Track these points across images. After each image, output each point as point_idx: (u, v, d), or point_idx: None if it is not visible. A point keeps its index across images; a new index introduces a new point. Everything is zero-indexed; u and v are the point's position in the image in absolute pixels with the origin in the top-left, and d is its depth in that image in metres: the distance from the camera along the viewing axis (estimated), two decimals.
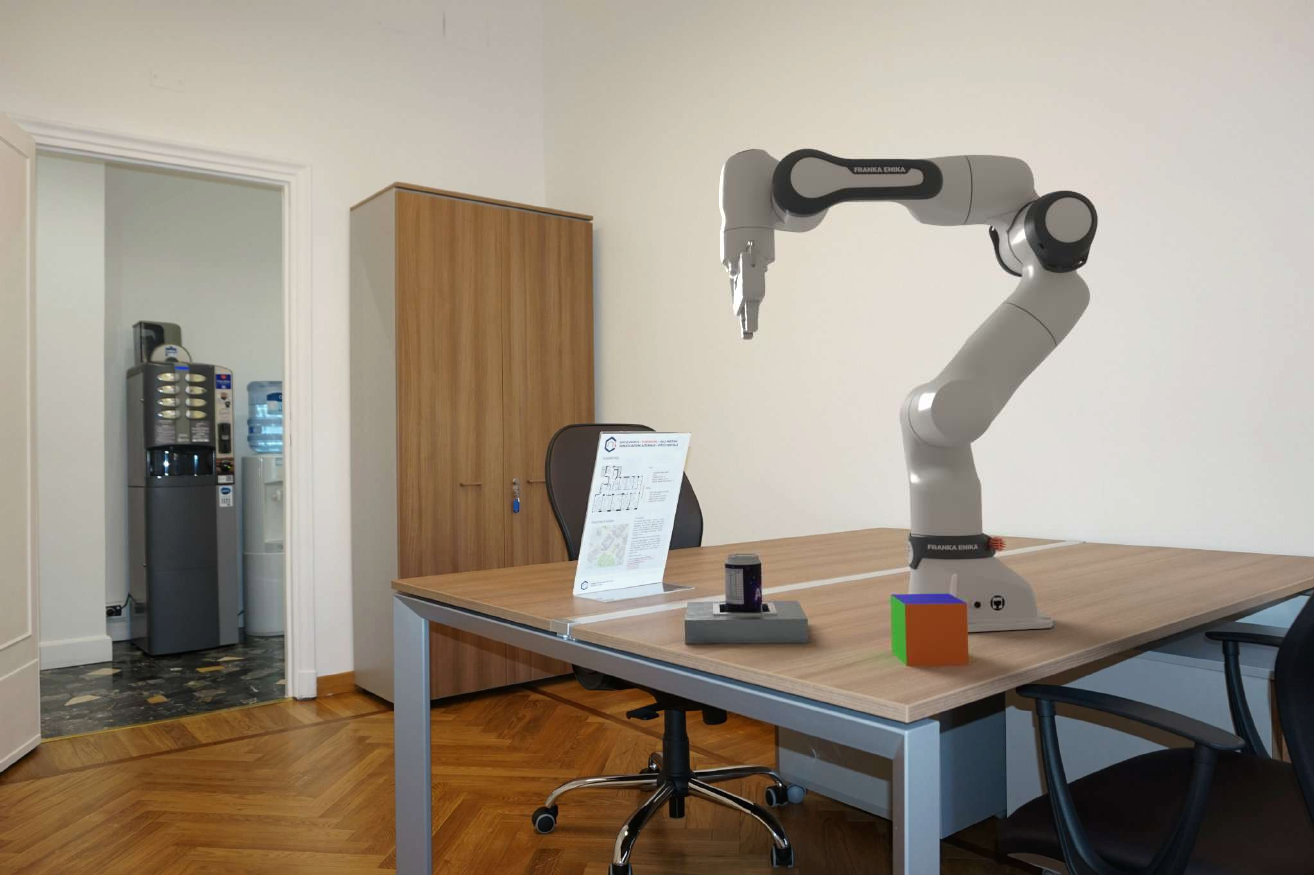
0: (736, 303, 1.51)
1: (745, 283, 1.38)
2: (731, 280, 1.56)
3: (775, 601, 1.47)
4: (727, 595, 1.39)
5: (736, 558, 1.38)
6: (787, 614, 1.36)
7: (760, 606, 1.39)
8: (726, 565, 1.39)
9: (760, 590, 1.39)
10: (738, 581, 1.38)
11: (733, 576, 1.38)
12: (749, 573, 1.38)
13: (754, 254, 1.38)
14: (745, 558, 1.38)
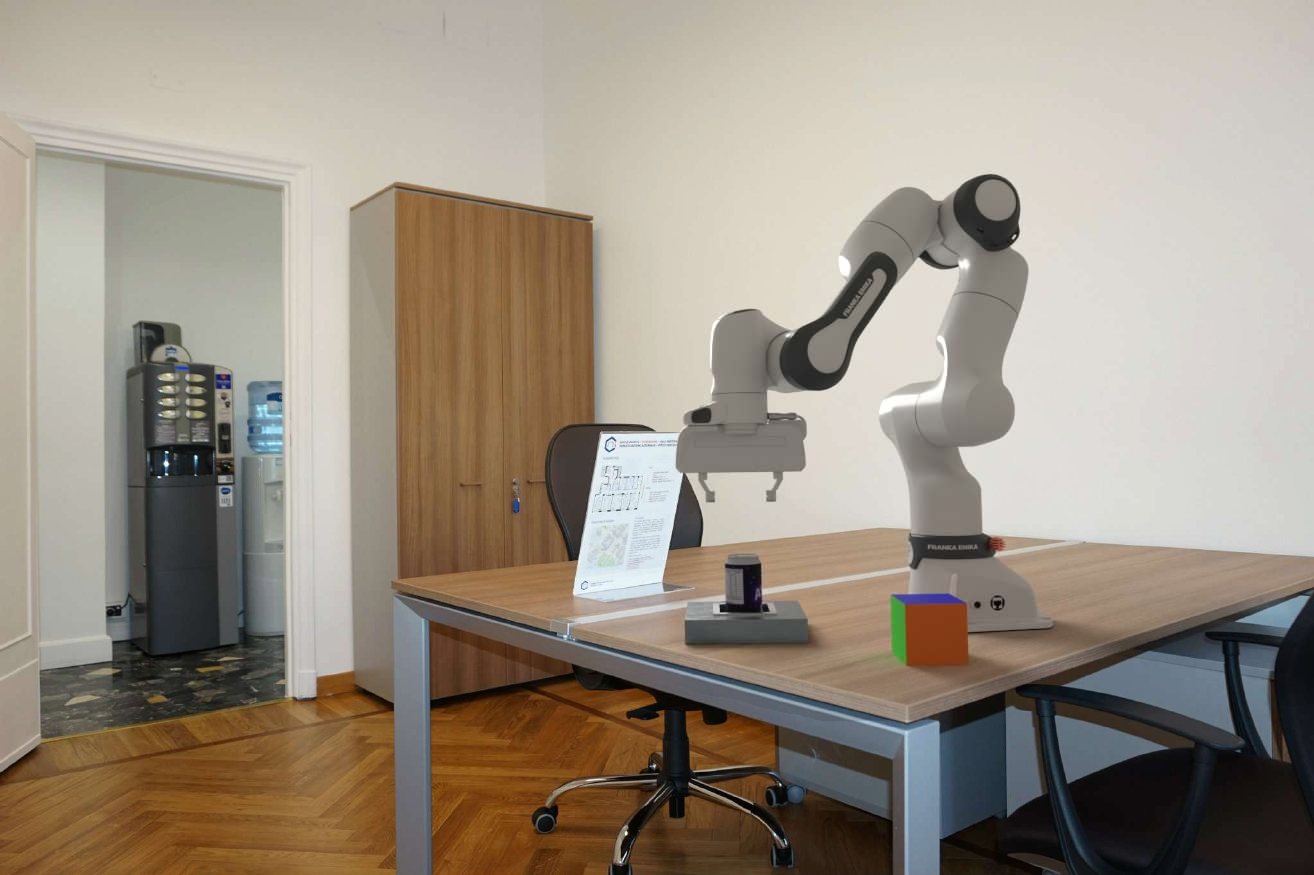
0: (717, 464, 1.39)
1: (805, 458, 1.39)
2: (690, 434, 1.39)
3: (775, 601, 1.47)
4: (727, 595, 1.39)
5: (736, 558, 1.38)
6: (787, 614, 1.36)
7: (760, 606, 1.39)
8: (726, 565, 1.39)
9: (760, 590, 1.39)
10: (738, 581, 1.38)
11: (733, 576, 1.38)
12: (749, 573, 1.38)
13: None
14: (745, 558, 1.38)
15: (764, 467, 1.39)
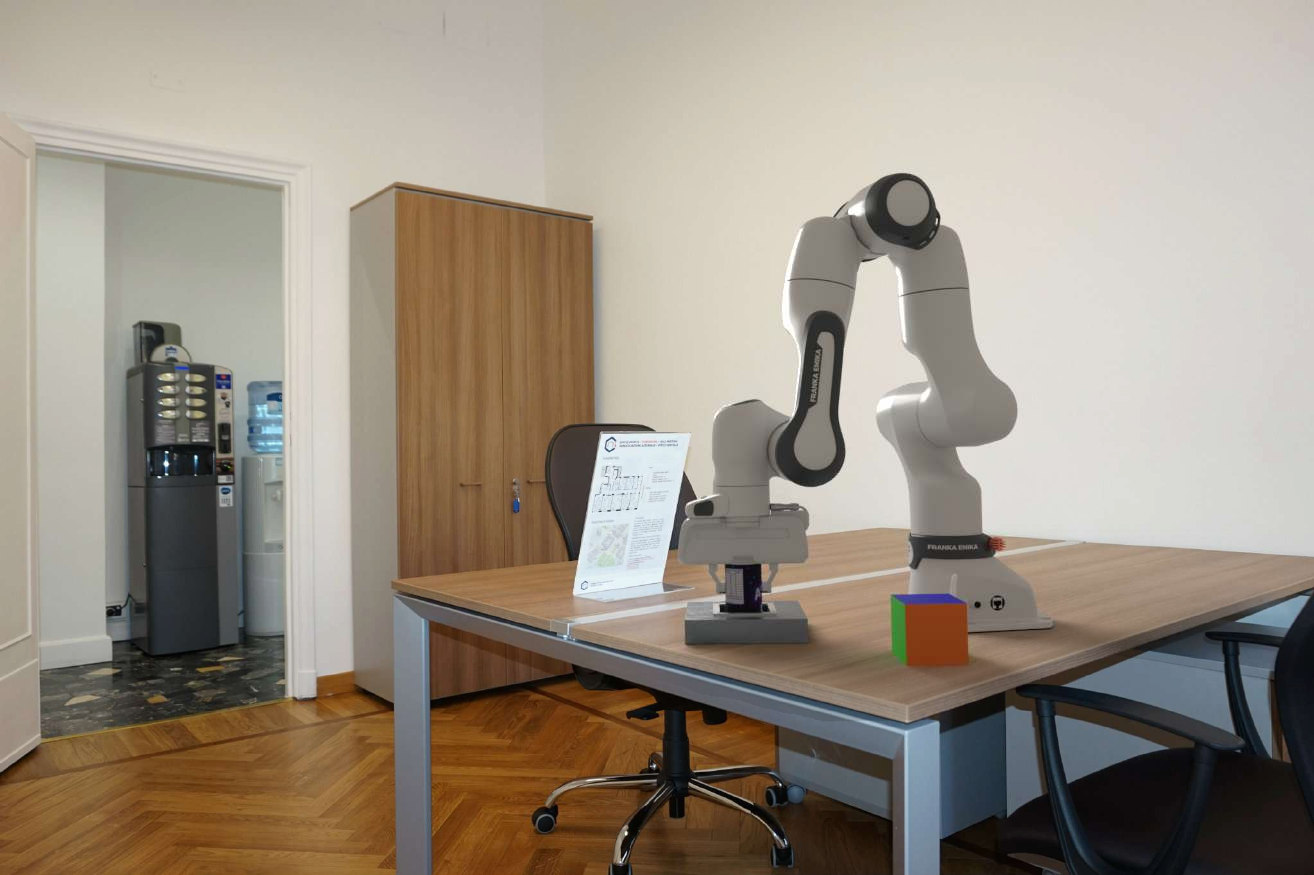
0: (719, 556, 1.39)
1: None
2: (692, 527, 1.39)
3: (775, 601, 1.47)
4: (727, 595, 1.39)
5: (736, 558, 1.38)
6: (787, 614, 1.36)
7: (760, 606, 1.39)
8: (726, 565, 1.39)
9: (760, 590, 1.39)
10: (738, 581, 1.38)
11: (733, 576, 1.38)
12: (749, 573, 1.38)
13: None
14: (745, 558, 1.38)
15: (767, 559, 1.38)
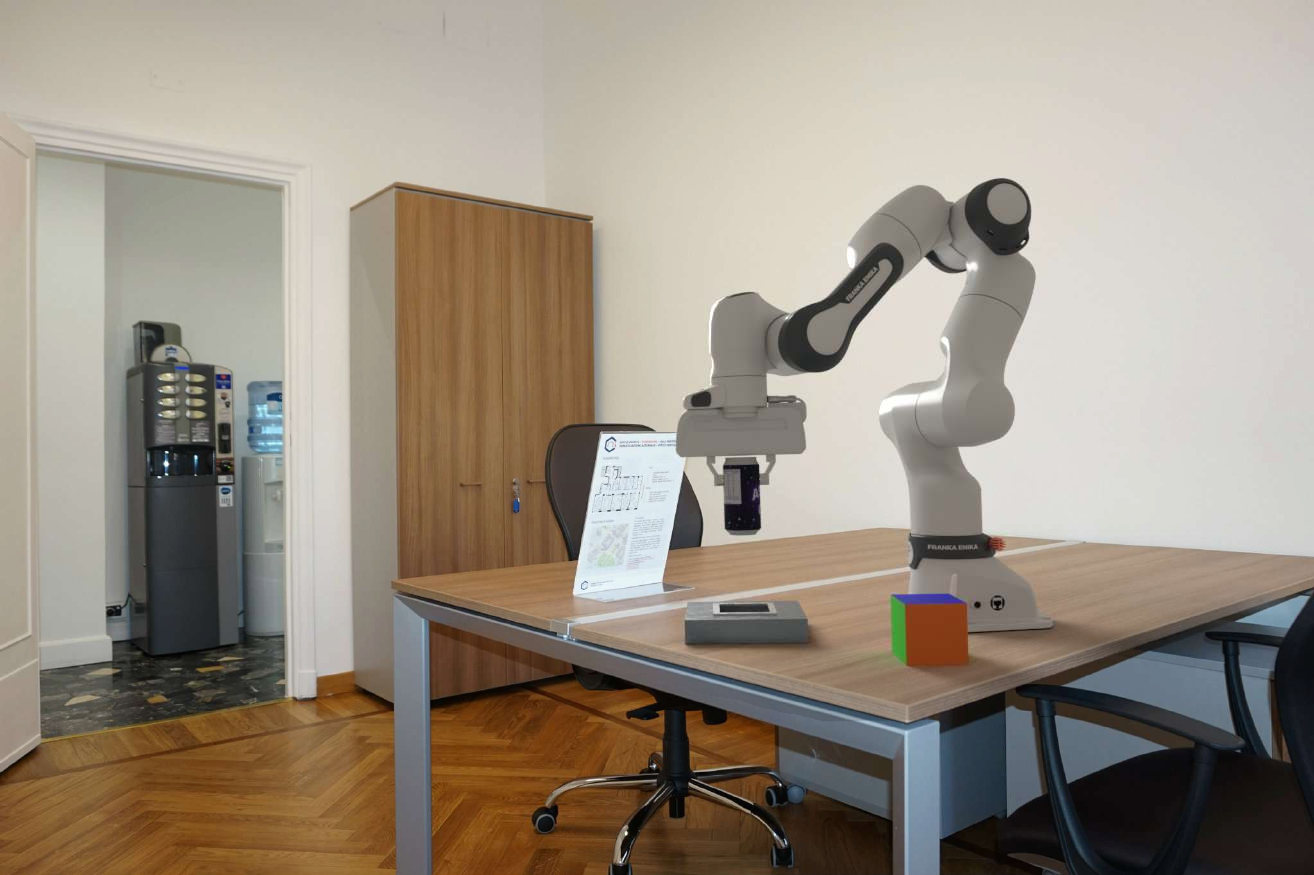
0: (717, 448, 1.39)
1: (805, 440, 1.39)
2: (690, 418, 1.39)
3: (775, 601, 1.47)
4: (725, 496, 1.40)
5: (733, 458, 1.39)
6: (787, 614, 1.36)
7: (758, 507, 1.39)
8: (724, 466, 1.40)
9: (758, 491, 1.39)
10: (736, 481, 1.38)
11: (730, 477, 1.39)
12: (746, 473, 1.38)
13: None
14: (742, 458, 1.38)
15: (764, 450, 1.39)
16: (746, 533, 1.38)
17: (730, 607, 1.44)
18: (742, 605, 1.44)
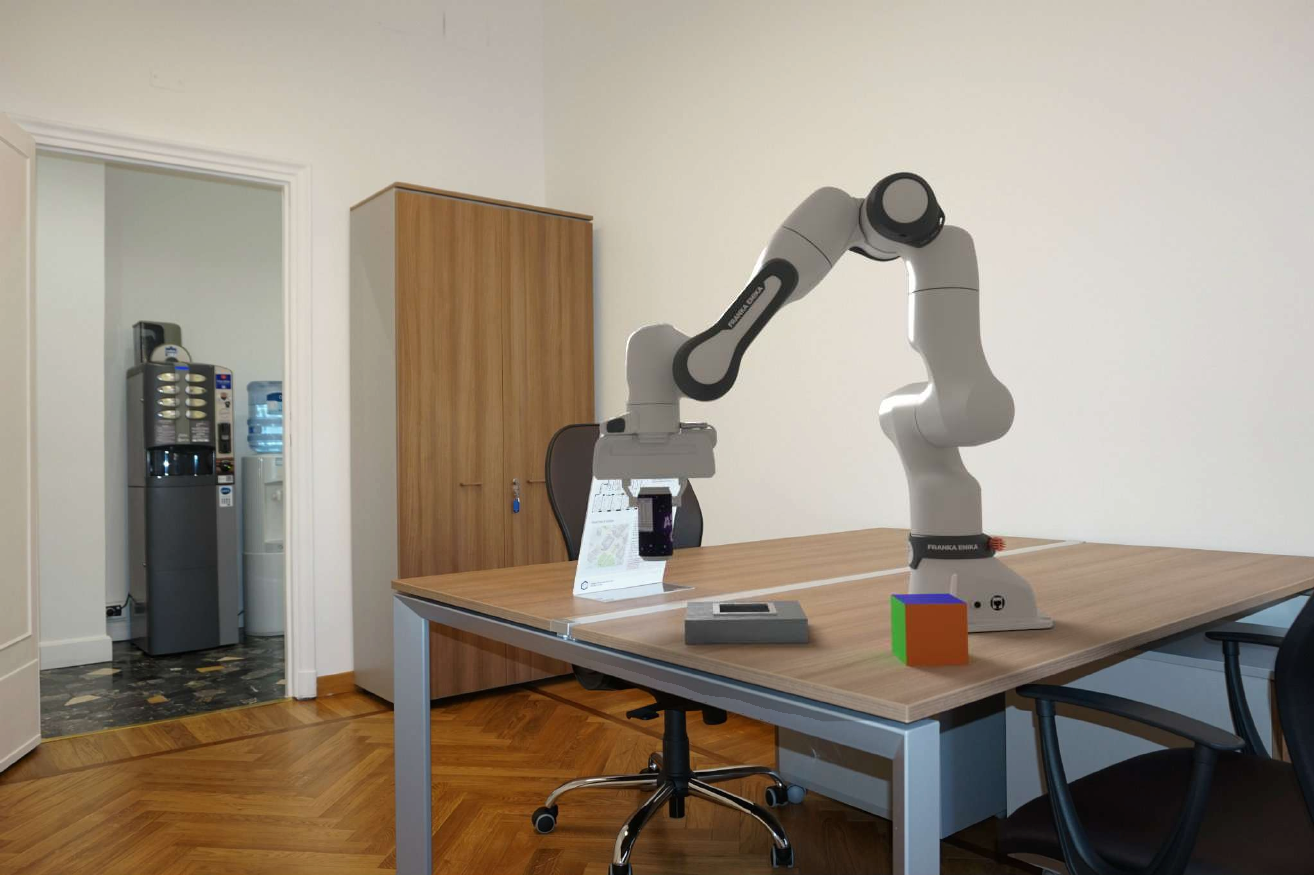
0: (631, 471, 1.47)
1: None
2: (605, 443, 1.47)
3: (775, 601, 1.47)
4: (639, 524, 1.47)
5: (646, 488, 1.46)
6: (787, 614, 1.36)
7: (669, 534, 1.47)
8: (638, 495, 1.48)
9: (670, 519, 1.47)
10: (648, 509, 1.46)
11: (643, 505, 1.46)
12: (658, 502, 1.46)
13: None
14: (655, 488, 1.46)
15: (676, 474, 1.46)
16: (657, 559, 1.46)
17: (730, 607, 1.44)
18: (742, 605, 1.44)
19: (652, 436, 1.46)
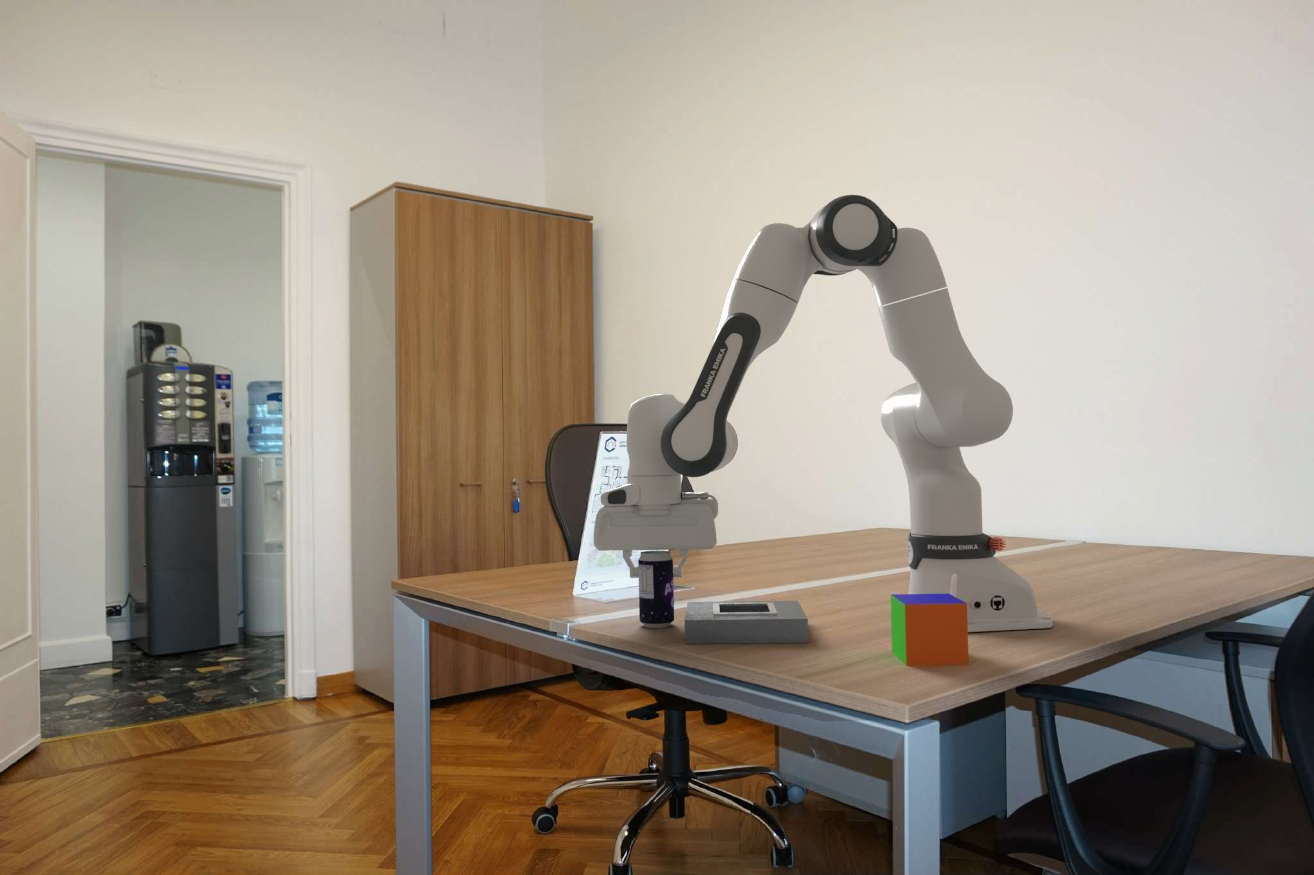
0: (632, 542, 1.47)
1: None
2: (606, 514, 1.46)
3: (775, 601, 1.47)
4: (639, 590, 1.47)
5: (647, 555, 1.46)
6: (787, 614, 1.36)
7: (670, 600, 1.46)
8: (639, 561, 1.47)
9: (671, 585, 1.46)
10: (649, 576, 1.45)
11: (644, 572, 1.45)
12: (658, 569, 1.45)
13: None
14: (655, 555, 1.45)
15: (677, 545, 1.46)
16: (658, 626, 1.45)
17: (730, 607, 1.44)
18: (742, 605, 1.44)
19: (653, 508, 1.45)
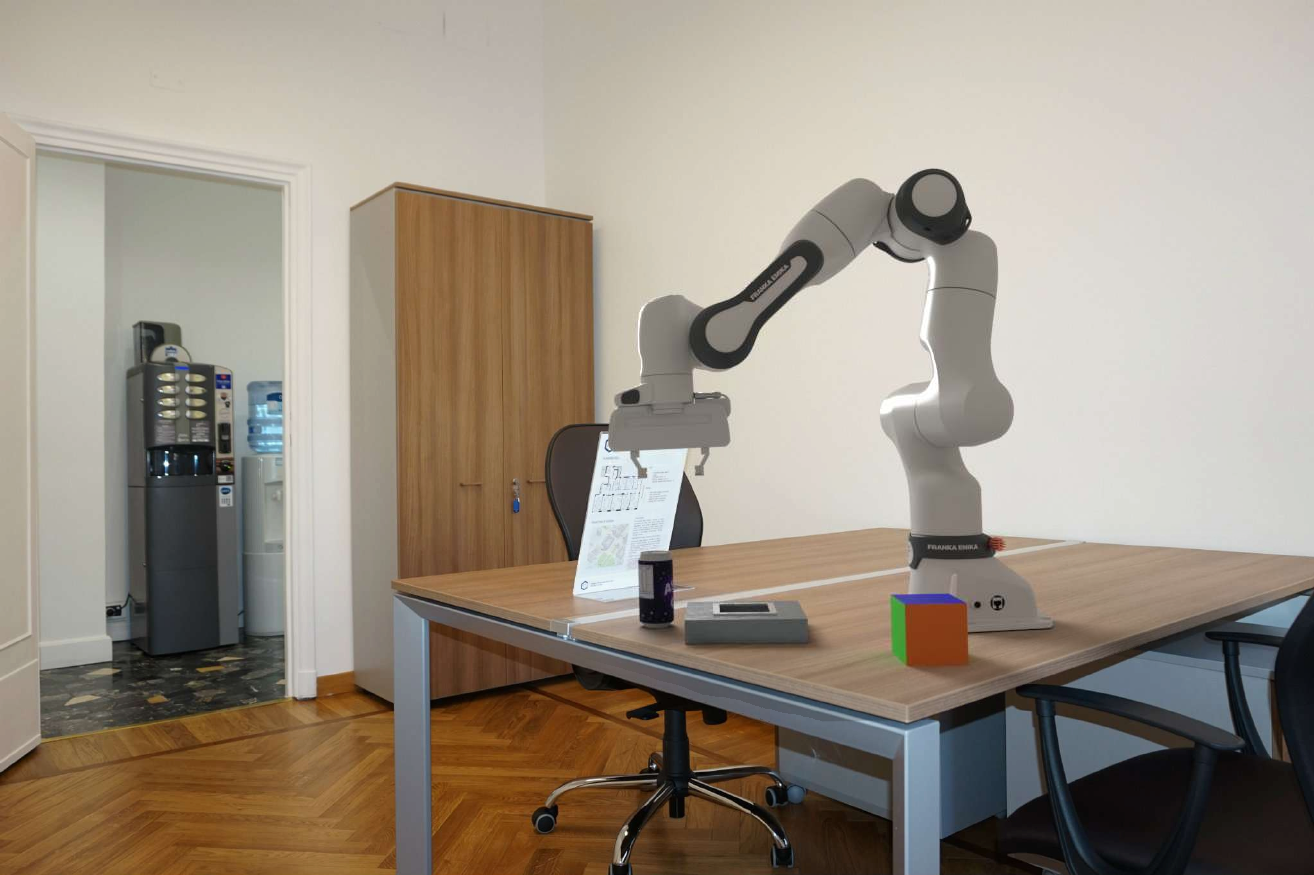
0: (647, 442, 1.48)
1: (729, 433, 1.48)
2: (620, 415, 1.48)
3: (775, 601, 1.47)
4: (639, 590, 1.47)
5: (647, 555, 1.46)
6: (787, 614, 1.36)
7: (670, 600, 1.46)
8: (638, 561, 1.47)
9: (670, 585, 1.46)
10: (648, 576, 1.45)
11: (644, 572, 1.45)
12: (658, 569, 1.45)
13: None
14: (655, 555, 1.45)
15: (691, 443, 1.48)
16: (658, 626, 1.45)
17: (730, 607, 1.44)
18: (742, 605, 1.44)
19: (667, 406, 1.47)
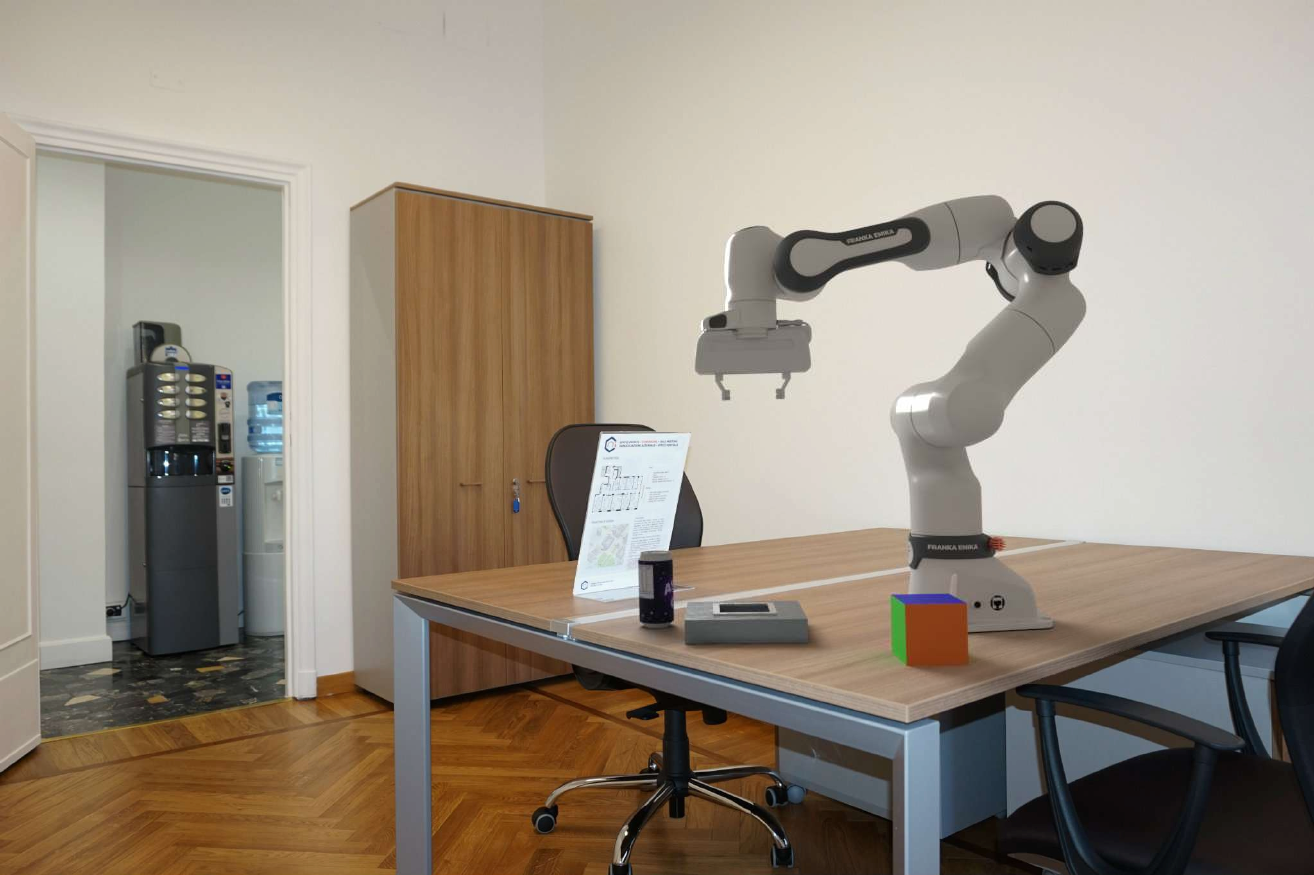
0: (732, 365, 1.56)
1: (810, 359, 1.56)
2: (707, 338, 1.56)
3: (775, 601, 1.47)
4: (639, 590, 1.47)
5: (647, 555, 1.46)
6: (787, 614, 1.36)
7: (670, 600, 1.46)
8: (638, 561, 1.47)
9: (670, 585, 1.46)
10: (648, 576, 1.45)
11: (644, 572, 1.45)
12: (658, 569, 1.45)
13: None
14: (655, 555, 1.45)
15: (774, 367, 1.56)
16: (658, 626, 1.45)
17: (730, 607, 1.44)
18: (742, 605, 1.44)
19: (752, 331, 1.55)
